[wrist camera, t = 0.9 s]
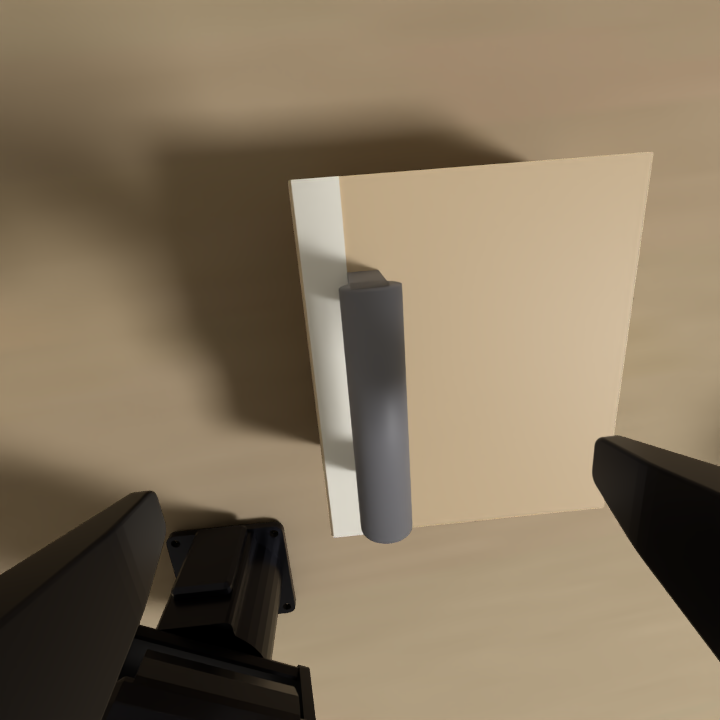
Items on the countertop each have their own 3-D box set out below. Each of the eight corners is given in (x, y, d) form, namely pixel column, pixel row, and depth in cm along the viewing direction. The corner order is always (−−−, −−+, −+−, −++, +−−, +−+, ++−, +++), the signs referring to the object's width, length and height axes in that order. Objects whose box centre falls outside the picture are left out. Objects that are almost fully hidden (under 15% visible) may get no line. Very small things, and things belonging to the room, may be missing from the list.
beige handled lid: (596, 499, 18) (673, 583, 14) (331, 527, 17) (330, 621, 13) (642, 153, 13) (774, 128, 9) (289, 181, 13) (270, 168, 9)
